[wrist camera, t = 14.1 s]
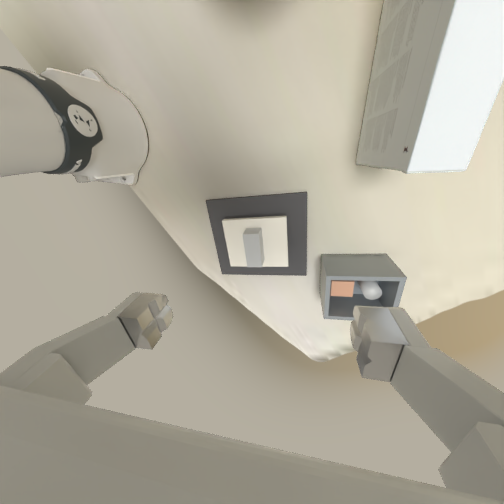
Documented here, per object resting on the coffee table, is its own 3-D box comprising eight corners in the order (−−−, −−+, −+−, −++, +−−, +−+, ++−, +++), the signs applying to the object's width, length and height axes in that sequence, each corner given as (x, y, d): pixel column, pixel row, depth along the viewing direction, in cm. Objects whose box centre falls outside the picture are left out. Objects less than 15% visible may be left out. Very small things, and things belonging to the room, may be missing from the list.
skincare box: (391, 163, 31) (467, 174, 17) (354, 165, 32) (397, 176, 18) (444, -47, 21) (718, -414, 7) (389, -35, 22) (537, -332, 9)
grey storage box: (319, 292, 45) (323, 318, 38) (321, 254, 40) (326, 276, 33) (377, 294, 42) (393, 323, 35) (386, 253, 37) (406, 277, 31)
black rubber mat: (222, 273, 48) (222, 274, 47) (206, 200, 40) (205, 200, 40) (306, 274, 43) (306, 275, 43) (306, 191, 35) (306, 192, 35)
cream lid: (233, 261, 45) (226, 274, 40) (225, 217, 40) (215, 226, 35) (288, 260, 42) (287, 275, 37) (286, 213, 37) (285, 222, 32)
